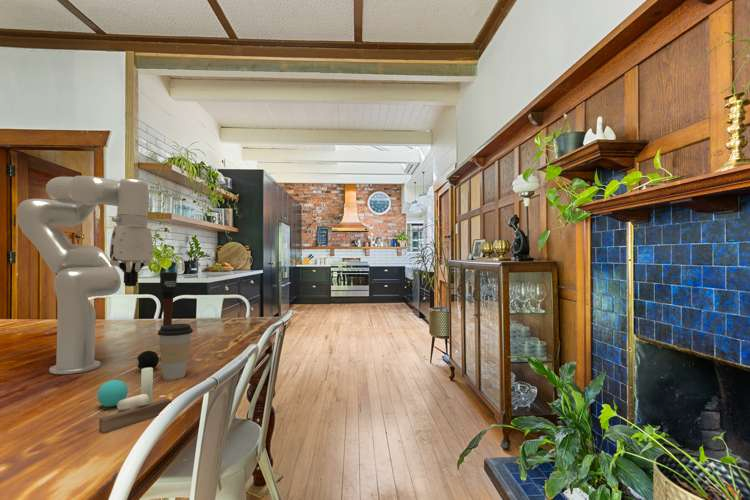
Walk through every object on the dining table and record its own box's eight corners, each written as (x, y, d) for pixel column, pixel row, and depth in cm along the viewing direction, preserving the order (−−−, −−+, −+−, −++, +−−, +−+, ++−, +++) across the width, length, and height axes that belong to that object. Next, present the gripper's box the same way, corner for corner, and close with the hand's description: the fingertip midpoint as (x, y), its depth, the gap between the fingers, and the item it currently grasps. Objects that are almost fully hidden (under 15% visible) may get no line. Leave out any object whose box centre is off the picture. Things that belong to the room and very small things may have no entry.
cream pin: (116, 400, 90) (137, 395, 86) (127, 398, 93) (148, 392, 88) (117, 411, 90) (138, 406, 86) (128, 408, 92) (149, 403, 88)
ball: (106, 394, 89) (100, 415, 90) (134, 387, 94) (128, 407, 95) (96, 378, 92) (90, 399, 93) (123, 372, 97) (118, 392, 98)
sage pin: (138, 407, 93) (139, 369, 93) (148, 404, 95) (149, 366, 95) (143, 409, 91) (144, 370, 92) (154, 406, 93) (155, 368, 94)
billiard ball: (161, 370, 123) (161, 351, 123) (139, 374, 118) (140, 354, 119) (154, 366, 127) (155, 347, 127) (133, 370, 123) (134, 350, 123)
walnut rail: (99, 430, 80) (99, 418, 80) (166, 409, 92) (166, 398, 92) (103, 433, 79) (104, 420, 79) (171, 410, 91) (171, 400, 91)
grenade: (157, 363, 131) (159, 272, 132) (156, 359, 136) (158, 272, 136) (176, 360, 134) (178, 272, 135) (174, 357, 139) (177, 272, 139)
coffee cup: (155, 383, 110) (157, 329, 110) (156, 374, 119) (158, 324, 119) (192, 379, 115) (194, 327, 115) (191, 370, 123) (192, 322, 123)
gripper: (109, 219, 106) (107, 288, 105) (165, 224, 118) (163, 285, 118) (97, 220, 110) (94, 286, 109) (151, 224, 122) (149, 284, 122)
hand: (130, 285), depth 114 cm, fingers closed
